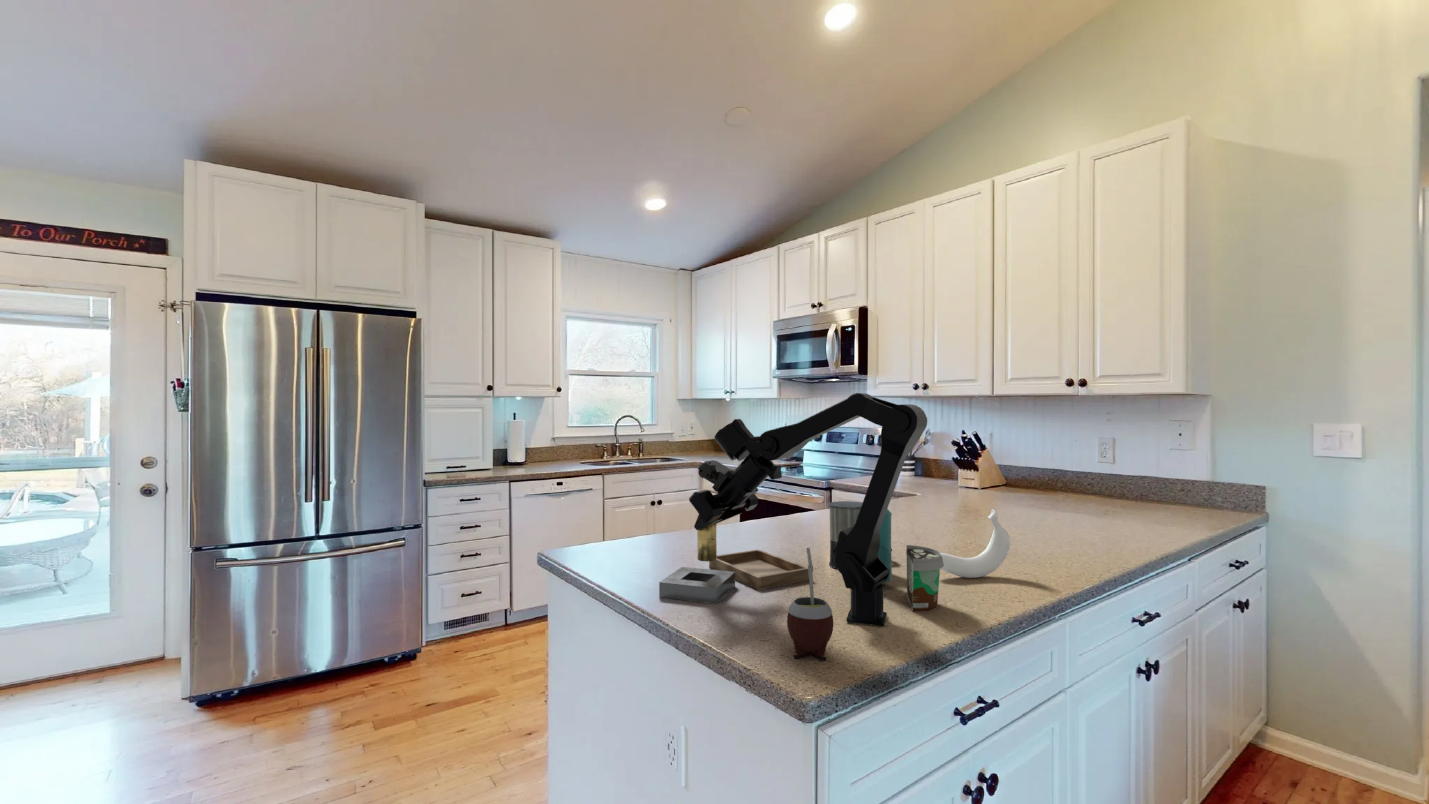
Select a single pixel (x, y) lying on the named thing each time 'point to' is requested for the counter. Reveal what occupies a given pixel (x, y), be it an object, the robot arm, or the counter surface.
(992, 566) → the banana
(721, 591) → the grey square socket block
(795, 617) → the mate gourd
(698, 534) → the brass pin
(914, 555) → the food container
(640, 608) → the counter surface
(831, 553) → the milk frother
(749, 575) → the walnut tray
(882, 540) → the beverage bottle
